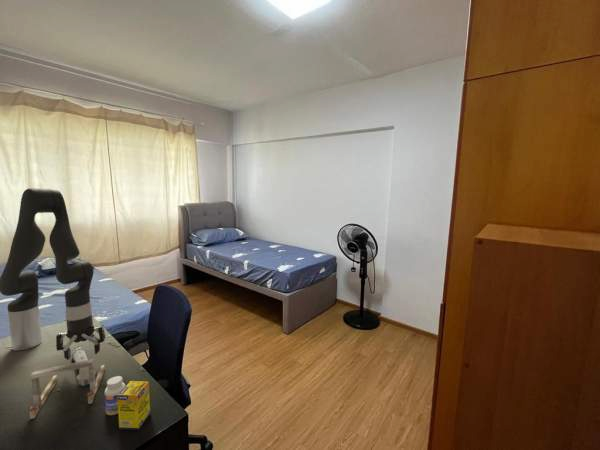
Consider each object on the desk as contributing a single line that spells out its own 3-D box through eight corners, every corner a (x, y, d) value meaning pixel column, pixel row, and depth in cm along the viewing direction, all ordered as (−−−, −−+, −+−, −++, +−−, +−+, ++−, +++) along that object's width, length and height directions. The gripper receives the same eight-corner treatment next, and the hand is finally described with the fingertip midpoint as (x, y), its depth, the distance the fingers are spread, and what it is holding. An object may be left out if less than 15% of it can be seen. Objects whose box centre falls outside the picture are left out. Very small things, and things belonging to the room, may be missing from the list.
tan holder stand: (53, 381, 96) (50, 349, 95) (105, 369, 103) (103, 339, 101) (29, 419, 80) (24, 381, 78) (93, 402, 86) (90, 367, 85)
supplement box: (139, 430, 77) (137, 395, 75) (118, 430, 77) (116, 395, 75) (151, 413, 82) (149, 380, 81) (131, 413, 83) (129, 380, 81)
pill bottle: (104, 418, 81) (102, 388, 79) (107, 405, 85) (105, 377, 84) (125, 411, 83) (123, 382, 82) (127, 400, 88) (125, 372, 87)
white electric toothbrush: (85, 344, 113) (96, 362, 96) (86, 359, 113) (97, 381, 96) (69, 349, 109) (77, 369, 92) (70, 365, 109) (79, 388, 92)
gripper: (104, 308, 107) (107, 346, 109) (58, 314, 101) (62, 355, 103) (100, 315, 100) (103, 356, 102) (50, 323, 94) (55, 366, 96)
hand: (83, 355), depth 102 cm, fingers open, 8 cm apart
